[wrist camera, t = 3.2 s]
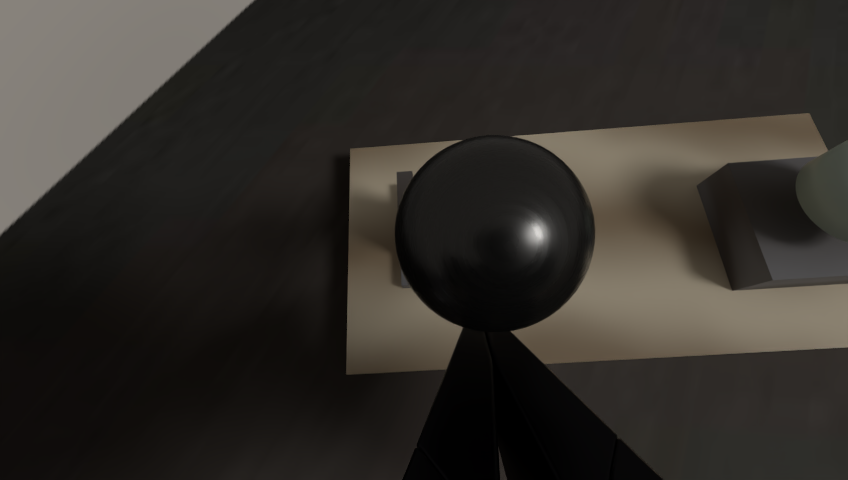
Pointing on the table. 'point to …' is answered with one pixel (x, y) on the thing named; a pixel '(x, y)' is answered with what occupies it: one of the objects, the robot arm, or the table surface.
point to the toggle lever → (494, 233)
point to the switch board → (632, 250)
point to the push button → (826, 191)
